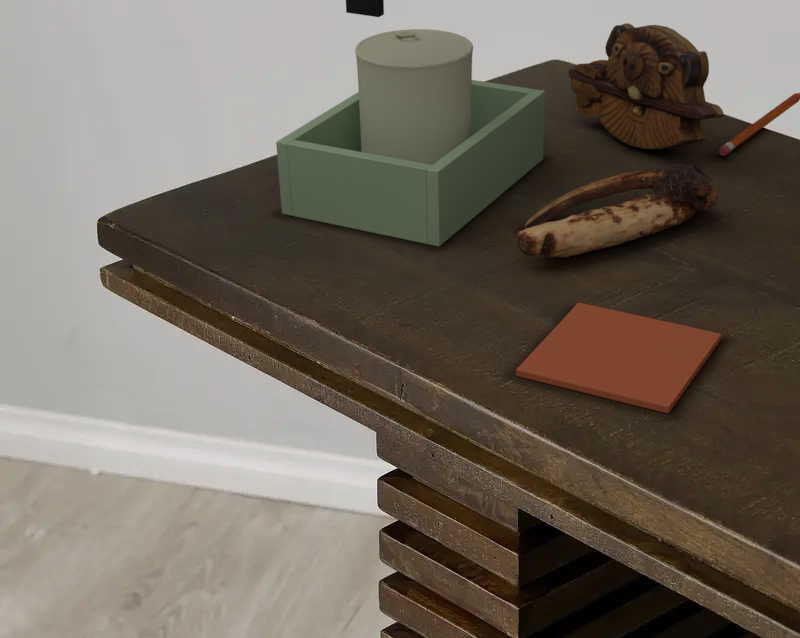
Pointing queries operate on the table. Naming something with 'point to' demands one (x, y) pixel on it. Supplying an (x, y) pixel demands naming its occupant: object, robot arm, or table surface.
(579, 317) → the mat
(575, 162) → the table surface
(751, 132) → the pencil
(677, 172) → the lashed bone hook
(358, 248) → the table surface
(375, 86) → the can
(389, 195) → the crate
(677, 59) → the wooden carving
